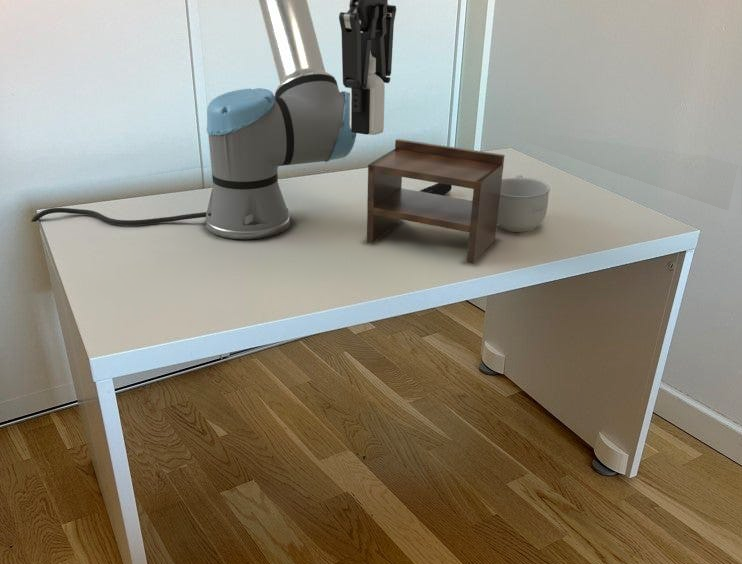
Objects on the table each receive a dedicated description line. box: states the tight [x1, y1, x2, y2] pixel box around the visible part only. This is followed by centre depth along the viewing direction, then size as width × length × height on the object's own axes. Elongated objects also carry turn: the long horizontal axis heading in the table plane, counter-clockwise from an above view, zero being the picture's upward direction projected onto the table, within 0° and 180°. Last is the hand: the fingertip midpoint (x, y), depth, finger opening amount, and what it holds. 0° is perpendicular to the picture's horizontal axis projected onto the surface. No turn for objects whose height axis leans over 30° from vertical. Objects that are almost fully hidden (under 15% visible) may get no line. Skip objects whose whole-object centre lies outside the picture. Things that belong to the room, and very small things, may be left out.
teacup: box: [497, 175, 551, 233], centre depth 142 cm, size 14×11×8 cm
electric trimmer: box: [419, 183, 453, 196], centre depth 152 cm, size 4×16×3 cm, turn 142°
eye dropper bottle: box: [349, 50, 386, 136], centre depth 114 cm, size 4×6×12 cm
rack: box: [366, 138, 506, 265], centre depth 131 cm, size 20×12×16 cm, turn 64°
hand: (366, 129), depth 117 cm, fingers closed on eye dropper bottle, 4 cm apart
